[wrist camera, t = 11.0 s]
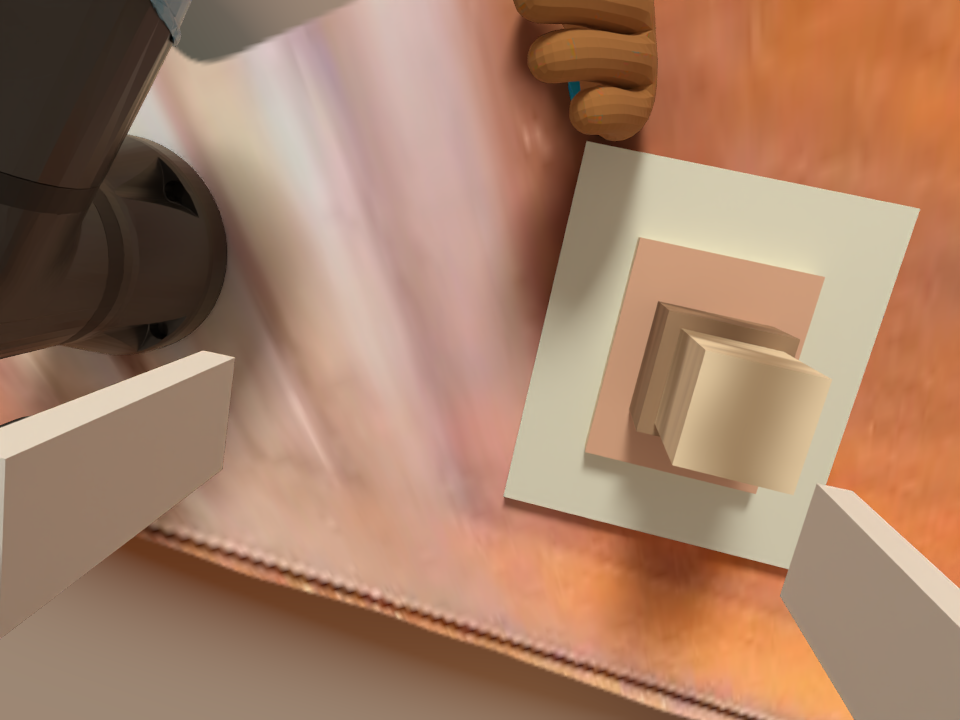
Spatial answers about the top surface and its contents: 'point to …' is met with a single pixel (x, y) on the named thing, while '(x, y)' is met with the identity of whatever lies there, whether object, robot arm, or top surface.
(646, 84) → the toy
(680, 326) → the walnut block
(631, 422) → the board
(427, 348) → the top surface
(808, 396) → the maple block
